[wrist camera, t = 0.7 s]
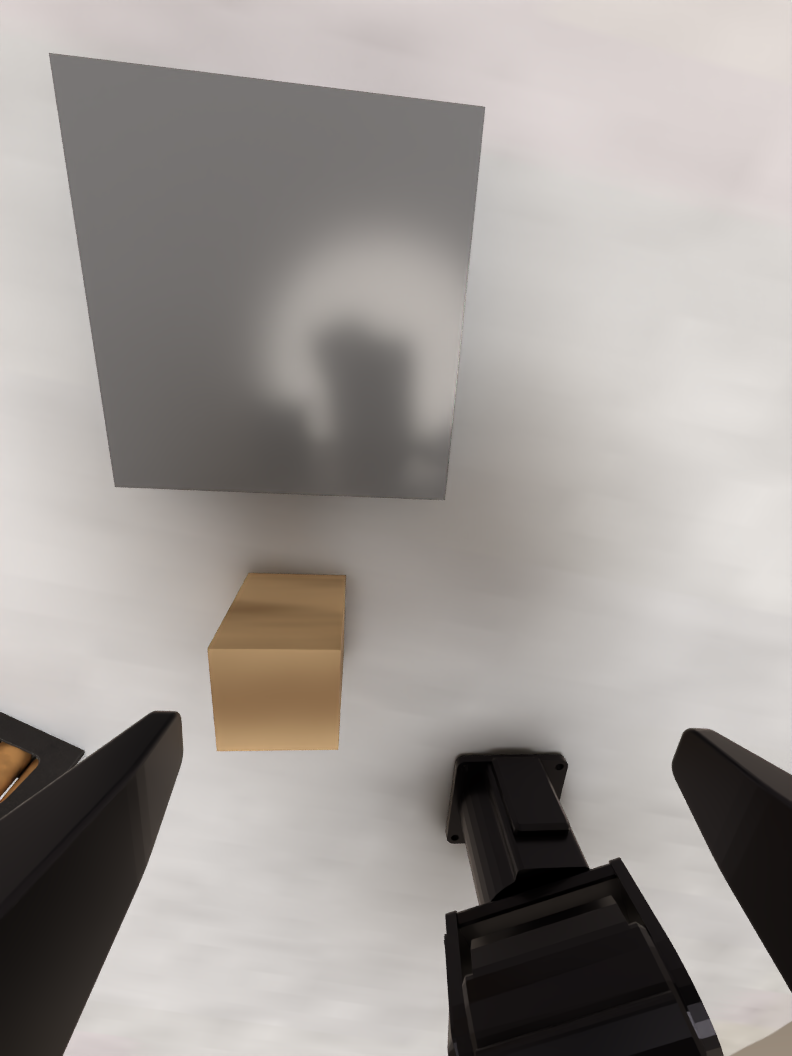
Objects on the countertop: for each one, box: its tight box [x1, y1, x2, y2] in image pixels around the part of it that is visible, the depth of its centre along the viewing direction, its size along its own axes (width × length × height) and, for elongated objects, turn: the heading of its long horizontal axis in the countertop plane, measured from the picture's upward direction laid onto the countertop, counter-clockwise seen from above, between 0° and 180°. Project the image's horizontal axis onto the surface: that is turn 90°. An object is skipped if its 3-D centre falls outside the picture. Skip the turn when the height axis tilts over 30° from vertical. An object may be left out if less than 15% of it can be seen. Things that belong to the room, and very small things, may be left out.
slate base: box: [49, 53, 485, 500], centre depth 16 cm, size 12×12×3 cm
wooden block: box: [208, 573, 346, 751], centre depth 19 cm, size 4×4×6 cm
